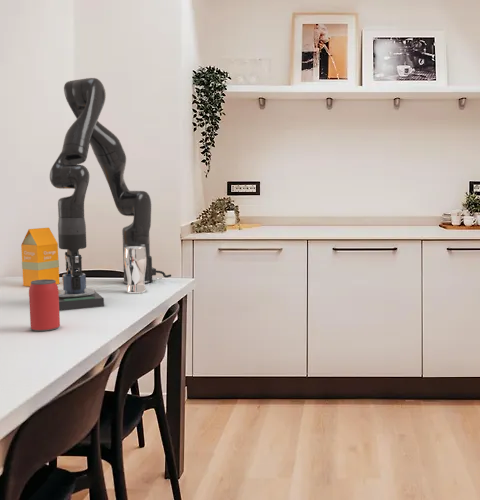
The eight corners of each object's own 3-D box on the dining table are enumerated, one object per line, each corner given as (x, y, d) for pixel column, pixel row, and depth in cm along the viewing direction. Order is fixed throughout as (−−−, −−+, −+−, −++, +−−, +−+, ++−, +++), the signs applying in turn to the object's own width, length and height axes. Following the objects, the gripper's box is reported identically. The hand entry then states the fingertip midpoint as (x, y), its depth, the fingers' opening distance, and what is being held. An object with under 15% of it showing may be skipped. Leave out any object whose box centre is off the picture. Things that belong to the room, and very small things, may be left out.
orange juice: (22, 285, 214) (19, 228, 212) (44, 282, 222) (41, 227, 220) (39, 287, 211) (36, 229, 209) (60, 283, 219) (57, 227, 217)
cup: (83, 288, 188) (83, 272, 187) (87, 291, 182) (87, 275, 182) (61, 290, 184) (61, 274, 184) (65, 293, 179) (64, 276, 179)
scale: (94, 298, 193) (93, 289, 192) (104, 306, 180) (103, 296, 180) (48, 302, 186) (48, 293, 185) (55, 311, 173) (55, 301, 173)
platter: (91, 289, 191) (91, 286, 191) (98, 294, 182) (97, 292, 182) (52, 292, 185) (52, 289, 185) (57, 298, 176) (57, 295, 176)
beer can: (51, 324, 157) (49, 278, 156) (65, 328, 153) (63, 280, 152) (25, 329, 152) (22, 281, 150) (39, 333, 148) (37, 284, 147)
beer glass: (151, 290, 206) (150, 246, 205) (138, 294, 200) (136, 248, 198) (134, 289, 208) (133, 245, 207) (120, 292, 202) (119, 247, 200)
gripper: (90, 233, 178) (92, 290, 179) (81, 230, 190) (83, 283, 191) (61, 234, 173) (64, 293, 175) (54, 231, 185) (57, 285, 187)
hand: (74, 287), depth 183 cm, fingers closed on cup, 6 cm apart
